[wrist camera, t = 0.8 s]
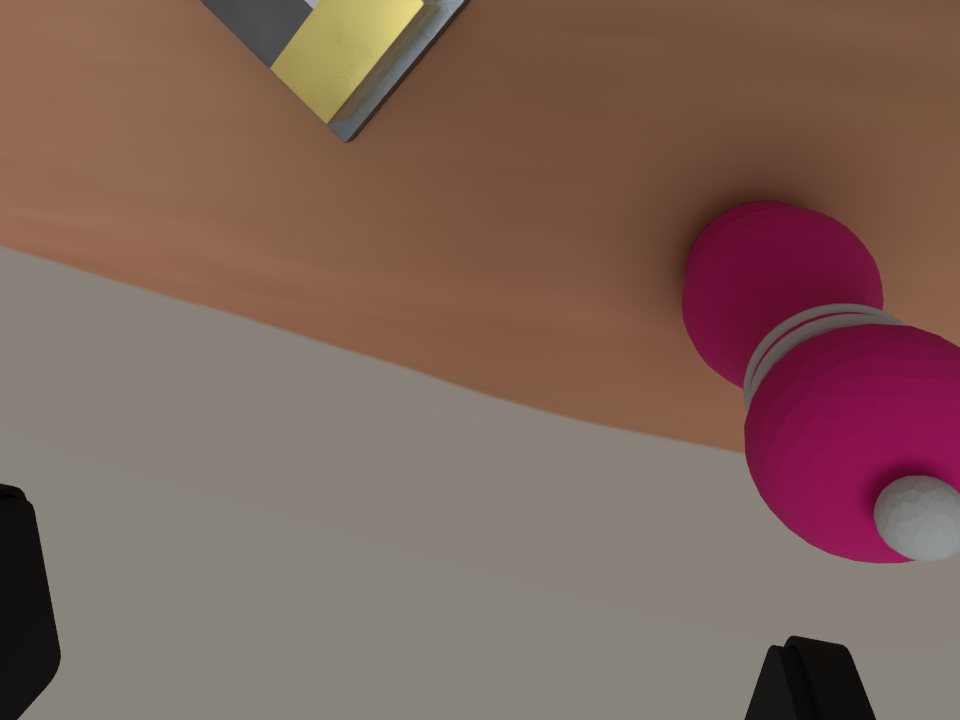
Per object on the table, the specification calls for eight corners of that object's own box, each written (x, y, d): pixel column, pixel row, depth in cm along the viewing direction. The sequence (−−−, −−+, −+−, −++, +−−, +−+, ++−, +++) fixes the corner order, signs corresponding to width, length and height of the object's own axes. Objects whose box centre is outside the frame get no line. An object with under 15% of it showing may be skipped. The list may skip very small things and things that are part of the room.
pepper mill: (675, 348, 35) (744, 674, 17) (673, 195, 32) (753, 384, 14) (838, 342, 33) (1108, 689, 15) (850, 181, 31) (1195, 370, 13)
